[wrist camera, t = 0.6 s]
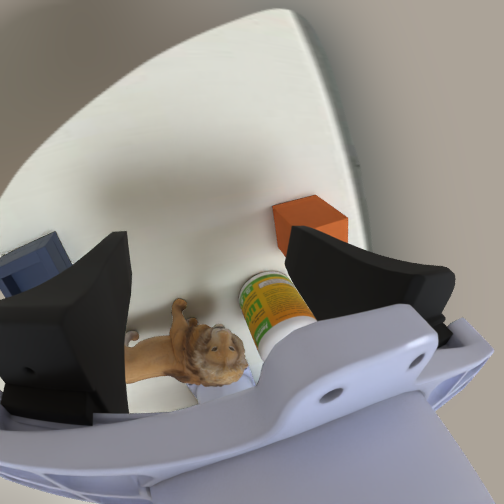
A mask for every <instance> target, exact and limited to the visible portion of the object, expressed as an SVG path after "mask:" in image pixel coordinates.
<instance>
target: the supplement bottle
mask: <svg viewBox="0 0 504 504" xmlns="http://www.w3.org/2000/svg"><path fill="white" fill-rule="evenodd" d="M239 304H240V307H241V310H242V312H243V315H244V318H245V320H246V323H247V325H248V328H249V330H250V333H251V335H252V338H253V340H254V343H255V345H256V347H257V350H258V352H259V354H260V357H261V359H262V360H263V361H265V360H266V358H267V356H268V355H269V353H270V351H271V350H272V348H273V347H274V345H275V344H276V343H278V342H279V341H280V340H282V339H283V338H284V337H286V336H287V335H288V334H290V333H291V332H292V331H293V330H295V329H298V328H301V327H303V326H306V325H309V324H311V323H314V322H317V320H316V319H315V317H314V315H313V314H312V312H311V311H310V309H309V308H308V306H307V305H306V303H305V302H304V300H303V299H302V297H301V296H300V294H299V293H298V291H297V290H296V288H295V287H294V285H293V284H292V282H291V281H290V280H289V278H288V277H287V276H285V275H284V274H282V273H279V272H274V271H270V272H264V273H260V274H258V275H256V276H254V277H252V278H251V279H250V280H248V281H247V282H246V283H245V285H244V286H243V287H242V289H241V291H240V295H239Z"/></svg>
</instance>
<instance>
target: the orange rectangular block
mask: <svg viewBox="0 0 504 504" xmlns="http://www.w3.org/2000/svg"><path fill="white" fill-rule="evenodd" d="M272 208H273V215H274V222H275V229H276V236H277V243H278V248H279V249H280V250H281V252H282V253H283V254H284V256H285V257H286V254H287V249H288V243H289V238H290V233H291V227H292V226H308V227H311V228H314V229H316V230H319V231H321V232H323V233H326V234H328V235H330V236H333V237H335V238H337V239H339V240H342V241H344V242H346V243H348V218H347V217H346V216H345V215H343V214H342V213H341V212H339V211H338V210H336V209H335V208H334V207H332V206H331V205H329V204H328V203H327V202H325V201H324V200H322V199H321V198H319V197H318V196H317V195H313V196H309V197H305V198H301V199H297V200H293V201H290V202H286V203H282V204H278V205H274V206H272Z"/></svg>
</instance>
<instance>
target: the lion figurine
mask: <svg viewBox="0 0 504 504" xmlns="http://www.w3.org/2000/svg"><path fill="white" fill-rule="evenodd" d="M186 305H187V303H186V301H184V300H183V299H179V298H178V299H176V300H175V301H174V303H173V305H172V312H171V313H172V316H173V321H172V326H171V329H170V332H169V334H170V335H166V336H156V337H152V338H148V339H145V340H143V341H140V342H139V343H137V344H136V345H135V346H134V347H128V344H129V342H130V341H131V340H133V341H136V340H138V339H139V334H138V332H136V331H129V332H128V333H126V335H125V343H124V348H125V378H126V384H130V383H134V382H137V381H140V380H144V379H148V378H153V377H159V376H171V377H174V378H175V379H177V380H178V381H180V382H182V383H189V384H195V385H200V384H202V385H203V386H204V387H210V386H212V387H217V386H219V387H222V386H224V385H230V384H231V383H233V382H237V381H238V380H239V379H240V378H241V376H242V375H243V372H244V369H245V368H247V367H248V363H247V361H246V359H245V355H244V353H245V349H244V347H243V342H242V340H241V339H240V338H239V337H238V336H236V335H235V334H232V333H231V331H230V330H229V329H227V328H225V327H224V325H223V324H216V325H215V326H214V327H213V328H211V327H209V326H208V325H206V324H201V325H197V323H198V321H197V320H196V318H188V319H187V320H185V318H184V316H183V314H182V311H183V310H184V309H186Z"/></svg>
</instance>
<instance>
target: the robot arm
mask: <svg viewBox="0 0 504 504" xmlns="http://www.w3.org/2000/svg"><path fill="white" fill-rule="evenodd" d="M285 267H286V269H287V271H288V274H289V276H290V278H291V280H292V282H293V284H294V285H295V287H296V289H297V290H298V292H299V293H300V295H301V296H302V298H303V299H304V301H305V303H306V304H307V306H308V307H309V309H310V310H311V312H312V313H313V315H314V317H315V319H316V320H317V322H314V323H311V324H309V325H306V326H303V327H301V328H298V329H295V330H293V331H292V332H291V333H290V334H288V335H287V336H286V337H284V338H283V339H282V340H280V341H279V342H278V343H276V344H275V345H274V347H273V348H272V350H271V351H270V353H269V355H268V356H267V358H266V360H265V361H264V363H263V365H262V370H261V374H260V378H259V381H258V384H257V385H255V382H254V380H253V377H252V374H251V371H250V368H249V365H248V367H247V368H245V369H244V372H243V375H242V376H241V378H240V379H239V380H238V381H237V382H233V383H231V384H230V385H224V386H222V387H219V386H217V387H212V386H210V387H204V386H203V385H202V384H200V385H195V384H189V383H186V385H187V386H188V388H189V389H190V390H191V392H192V393H193V394H194V396H195V397H196V398H197V400H198V405H194V406H191V407H187V408H183V409H179V410H176V411H172V412H160V413H133V414H129V409H128V401H127V391H126V378H125V348H124V343H125V331H126V324H127V317H128V310H129V304H130V297H131V286H132V270H131V263H130V255H129V247H128V238H127V231H120V232H112V233H110V234H109V235H108V236H107V237H106V238H104V239H103V240H102V241H101V242H100V243H99V244H98V245H96V246H95V247H94V248H93V249H92V250H91V251H90V252H88V253H87V254H86V255H85V256H83V257H82V258H81V259H80V260H78V261H77V262H76V263H75V264H73V265H72V266H70V267H69V268H67V269H66V270H64V271H63V272H61V273H60V274H58V275H56V276H55V277H53V278H51V279H49V280H47V281H46V282H44V283H42V284H40V285H38V286H36V287H34V288H31V289H29V290H27V291H24V292H22V293H19V294H17V295H14V296H11V297H8V298H5V299H2V300H0V377H1V378H2V380H3V381H4V382H5V387H4V391H3V392H2V391H1V390H0V476H1V477H2V478H4V479H6V480H9V481H12V482H15V483H18V484H21V485H24V486H28V487H30V488H34V489H37V490H40V491H44V492H47V493H51V494H55V495H59V496H63V497H67V498H72V499H77V500H81V501H87V502H92V503H99V504H495V502H494V500H493V499H492V497H491V496H490V494H489V492H488V490H487V489H486V487H485V486H484V484H483V482H482V481H481V479H480V477H479V476H478V474H477V473H476V471H475V470H474V468H473V467H472V465H471V463H470V462H469V460H468V459H467V457H466V456H465V454H464V453H463V451H462V450H461V448H460V447H459V445H458V444H457V442H456V441H455V440H454V438H453V437H452V435H451V434H450V432H449V431H448V430H447V428H446V427H445V425H444V424H443V422H442V421H441V419H440V418H439V417H438V415H437V414H436V412H435V411H436V410H438V409H439V408H440V407H441V406H442V405H444V404H445V403H446V402H448V401H449V400H450V399H451V398H453V397H454V396H455V395H456V394H457V393H458V392H460V391H461V390H462V389H464V388H465V387H466V385H467V384H468V383H469V382H470V381H471V380H472V379H473V378H474V376H475V375H476V374H477V373H478V372H479V370H480V369H481V368H482V367H483V365H484V364H485V363H486V361H487V360H488V359H489V358H490V356H491V355H492V353H493V352H494V349H493V348H492V347H491V345H490V344H489V343H488V342H487V341H486V340H485V339H484V338H483V337H482V336H481V335H480V334H479V333H478V332H477V331H476V330H475V329H474V328H473V327H472V326H471V324H469V322H468V321H466V319H464V318H460V319H458V320H456V321H454V322H452V323H450V324H449V325H448V326H446V325H445V324H444V323H443V322H444V321H445V317H444V315H443V314H442V311H443V309H444V307H445V305H446V304H447V302H448V300H449V298H450V296H451V294H452V292H453V289H454V286H455V274H454V273H453V272H452V271H451V270H450V269H449V268H447V267H443V266H434V265H422V264H417V263H410V262H406V261H400V260H397V259H393V258H389V257H385V256H381V255H378V254H375V253H372V252H369V251H366V250H363V249H361V248H358V247H356V246H353V245H351V244H348V243H346V242H344V241H342V240H339V239H337V238H335V237H333V236H330V235H328V234H326V233H323V232H321V231H319V230H316V229H314V228H311V227H308V226H292V227H291V233H290V238H289V243H288V249H287V254H286V259H285ZM247 363H248V362H247Z"/></svg>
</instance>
